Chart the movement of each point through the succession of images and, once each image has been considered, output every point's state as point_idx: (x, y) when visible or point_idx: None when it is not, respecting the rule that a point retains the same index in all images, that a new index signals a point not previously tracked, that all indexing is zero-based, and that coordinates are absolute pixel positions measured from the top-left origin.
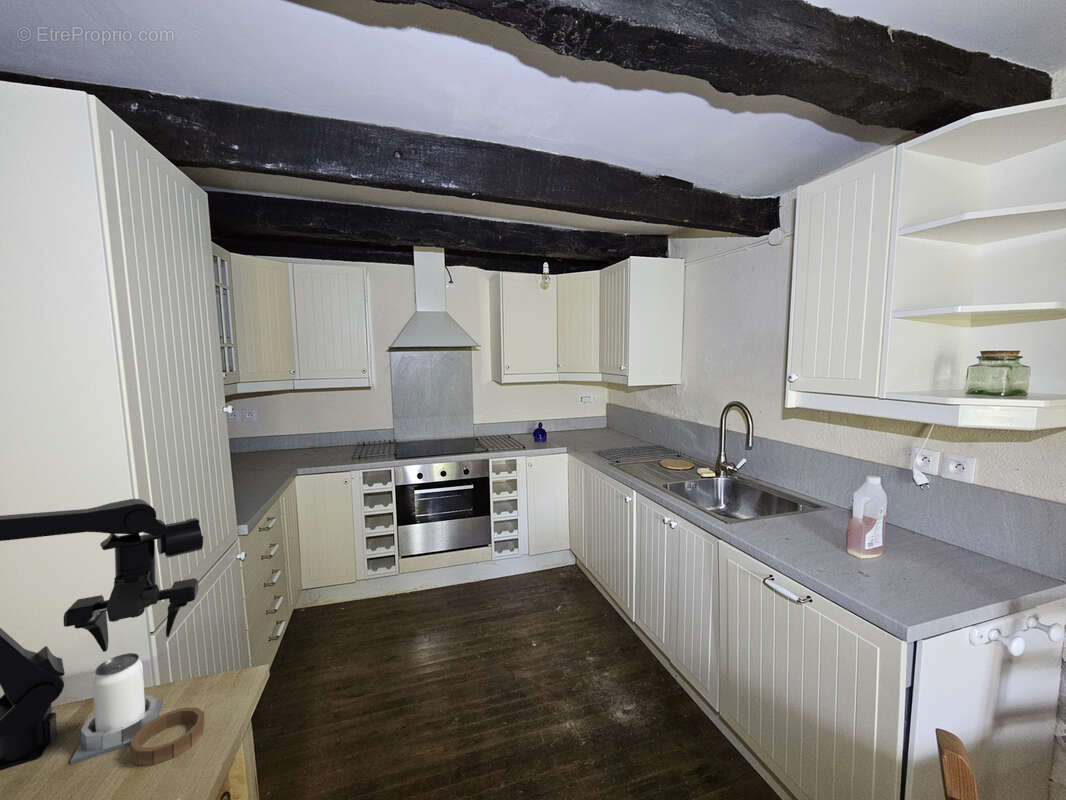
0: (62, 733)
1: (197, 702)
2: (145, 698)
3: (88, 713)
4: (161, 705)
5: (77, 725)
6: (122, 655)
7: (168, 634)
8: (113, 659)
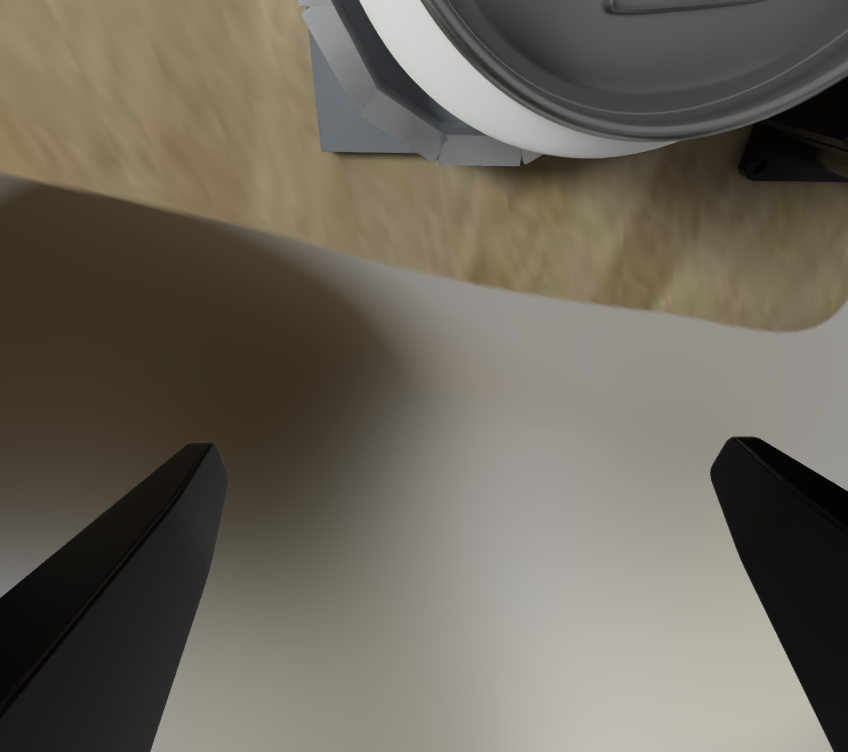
0: (718, 144)
1: (116, 24)
2: (381, 91)
3: (622, 255)
4: (317, 104)
5: (663, 178)
6: (641, 124)
7: (173, 458)
8: (759, 94)
